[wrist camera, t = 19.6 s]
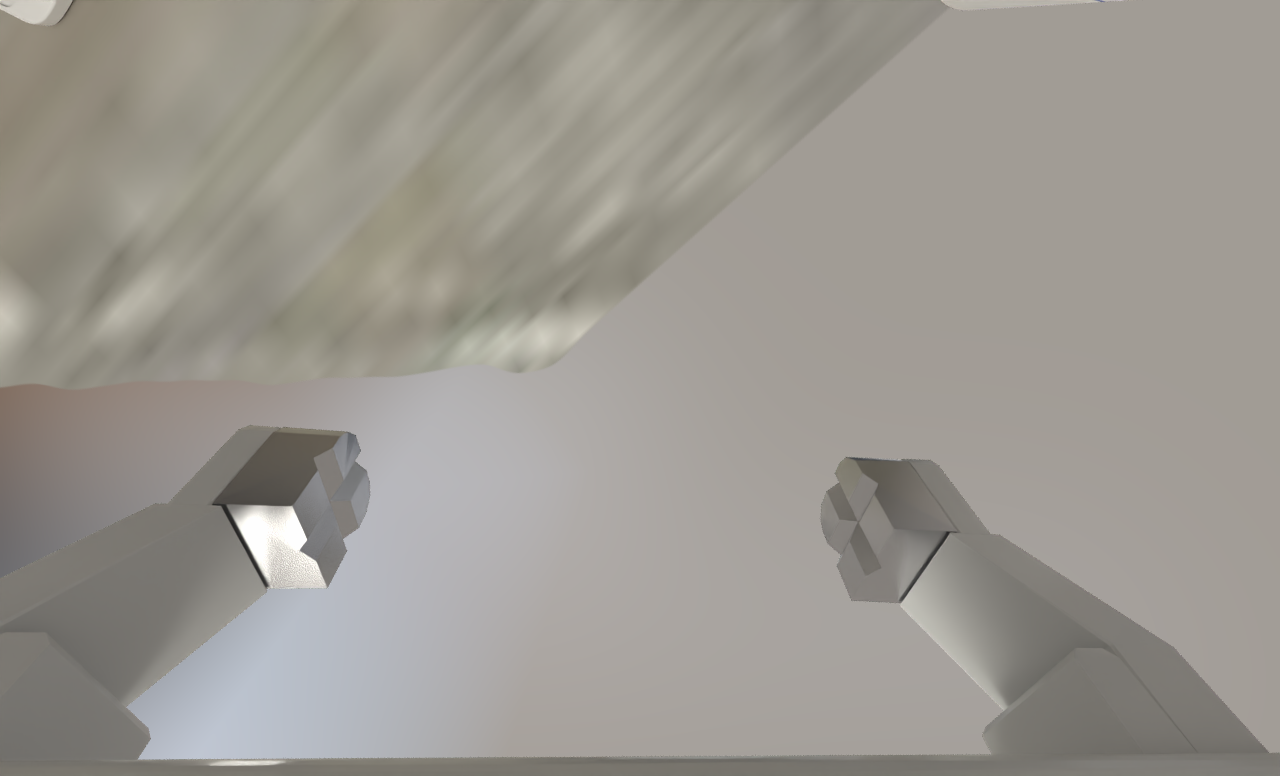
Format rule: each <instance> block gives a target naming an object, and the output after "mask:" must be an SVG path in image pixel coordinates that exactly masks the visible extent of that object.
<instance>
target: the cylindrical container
mask: <svg viewBox="0 0 1280 776" xmlns="http://www.w3.org/2000/svg"><path fill="white" fill-rule="evenodd" d="M941 1H942V2H943V3H944V4H945V5H947V6H949V7H951V8H952V9H957V10H961V11H966V10H983V9H999V8H1015V7H1031V6H1047V5H1063V4H1079V3H1095V2H1111V1H1126V0H941Z"/></svg>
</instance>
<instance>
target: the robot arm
mask: <svg viewBox="0 0 1280 776" xmlns="http://www.w3.org/2000/svg"><path fill="white" fill-rule="evenodd" d="M72 1H73V0H0V9H1V10H3V11H5V12H7V13H9V14H11V15H13V16H15V17H16V18H18V19H20V20H22V21H25V22H27V23H30V24H35V25H43V26H52V25H55V24H56V23H57V22H59V21H60V19H61V18H62V17H63V16H64V14H65V13H66V11H67V10H68V8H69V6H70V5H71V3H72ZM360 452H361V449H360V446H359V444H358V441H357V438H356V435H354V434H352V433H350V432H344V431H329V430H316V429H302V428H288V427H283V428H279V427H265V426H253V425H250V426H247V427H244V428H241V429H239V430H238V431H237V432H236V433H235V434H234V435H233V436H232V437H231V438H230V439H229V440H228V441H227V442H226V443H225V444H224V445H223V446H222V447H221V448H220V449H219V451H218V452H217V453H216V454H215V455H214V456H213V457H212V458H211V459H210V460H209V461H208V462H207V463H206V464H205V465H204V466H203V467H202V468H201V469H200V470H199V471H198V472H197V473H196V475H195V476H194V477H193V478H192V479H191V480H190V481H189V482H188V483H187V484H186V485H185V486H184V487H183V488H182V489H181V490H180V491H179V492H178V493H177V494H176V495H175V497H173V499H172V500H171V501H170V502H169V503H168V504H157V503H155V504H153V505H151V506H149V507H147V508H145V509H143V510H141V511H139V512H137V513H135V514H132V515H131V516H128V517H126V518H124V519H122V520H120V521H118V522H116V523H114V524H112V525H110V526H108V527H106V528H104V529H102V530H99V531H97V532H95V533H93V534H91V535H89V536H87V537H85V538H83V539H81V540H79V541H77V542H75V543H72V544H70V545H68V546H66V547H64V548H62V549H60V550H58V551H56V552H54V553H52V554H50V555H48V556H45V557H43V558H41V559H39V560H37V561H35V562H33V563H31V564H29V565H27V566H25V567H23V568H21V569H19V570H17V571H14V572H12V573H10V574H8V575H6V576H4V577H2V578H0V776H1280V753H1269V752H1268V751H1267V750H1266V748H1265V747H1264V746H1263V745H1262V744H1261V743H1260V742H1259V741H1258V740H1257V739H1256V737H1255V736H1254V735H1253V734H1252V733H1251V732H1250V731H1249V730H1248V729H1247V728H1246V726H1245V725H1244V724H1243V723H1242V722H1241V721H1240V720H1239V719H1238V718H1237V716H1236V715H1235V714H1234V713H1233V712H1232V711H1231V710H1230V709H1229V708H1228V707H1227V705H1226V704H1225V703H1224V702H1223V701H1222V700H1221V699H1220V698H1219V697H1218V696H1217V695H1216V693H1215V692H1214V691H1213V690H1212V689H1211V688H1210V687H1209V686H1208V684H1207V683H1205V681H1204V680H1203V679H1202V678H1201V677H1200V676H1199V675H1198V673H1197V672H1196V671H1195V670H1194V669H1193V668H1192V667H1191V666H1190V665H1189V664H1188V662H1187V661H1186V660H1185V659H1184V658H1183V657H1182V656H1181V655H1180V654H1179V652H1178V651H1177V650H1176V649H1175V648H1174V647H1172V646H1171V645H1169V644H1168V643H1166V642H1165V641H1163V640H1162V639H1160V638H1159V637H1157V636H1155V635H1154V634H1152V633H1151V632H1149V631H1148V630H1146V629H1145V628H1143V627H1141V626H1140V625H1138V624H1137V623H1135V622H1134V621H1132V620H1131V619H1129V618H1128V617H1126V616H1125V615H1123V614H1121V613H1120V612H1118V611H1117V610H1115V609H1114V608H1112V607H1111V606H1109V605H1108V604H1106V603H1104V602H1103V601H1101V600H1100V599H1098V598H1097V597H1095V596H1093V595H1092V594H1090V593H1089V592H1087V591H1086V590H1084V589H1083V588H1081V587H1080V586H1078V585H1077V584H1075V583H1073V582H1072V581H1070V580H1069V579H1067V578H1066V577H1064V576H1063V575H1061V574H1060V573H1058V572H1056V571H1055V570H1053V569H1052V568H1050V567H1049V566H1047V565H1046V564H1044V563H1042V562H1041V561H1040V560H1038V559H1036V558H1035V557H1033V556H1032V555H1030V554H1029V553H1027V552H1026V551H1024V550H1023V549H1021V548H1019V547H1018V546H1016V545H1015V544H1013V543H1012V542H1010V541H1009V540H1007V539H1006V538H1004V537H1002V536H1001V535H996V534H990V533H989V531H988V530H987V529H986V527H985V526H984V525H983V523H982V522H981V521H980V520H979V518H978V517H977V515H976V514H975V513H974V511H973V510H972V509H971V508H970V506H969V505H968V503H967V502H966V501H965V499H964V498H963V497H962V496H961V494H960V493H959V492H958V490H957V489H956V488H955V486H954V485H953V484H952V482H951V481H950V480H949V478H948V477H947V476H946V474H945V473H944V472H943V470H942V469H941V468H940V467H939V465H937V464H936V463H934V462H933V461H931V460H916V459H901V460H898V459H879V458H855V457H846V458H844V460H842V461H841V462H840V463H839V465H838V467H837V470H836V472H835V475H836V477H837V479H838V481H839V483H838V484H836V485H835V486H833V487H832V488H831V489H829V490H828V491H827V492H826V494H825V497H824V499H823V502H822V504H821V525H822V530H823V533H824V535H825V538H826V540H827V543H828V544H829V545H830V546H831V547H832V548H833V549H834V550H836V551H837V552H838V553H839V554H840V555H841V556H840V558H839V561H838V564H837V567H838V570H839V572H840V574H841V577H842V579H843V581H844V584H845V586H846V589H847V591H848V593H849V596H850V598H851V600H852V601H869V602H889V603H901V604H900V606H901V607H902V608H903V609H904V610H905V611H906V612H907V613H908V614H909V615H910V616H911V617H912V618H913V619H914V621H915V622H916V623H918V624H919V626H921V628H922V629H923V630H924V631H925V632H926V633H927V634H928V635H929V636H930V637H931V638H932V639H933V640H934V641H935V642H936V643H937V644H938V645H939V646H940V647H941V648H942V649H943V650H944V651H945V652H946V653H947V654H948V655H949V656H950V657H951V658H952V659H953V660H954V661H955V662H956V663H957V664H958V665H959V666H960V667H961V668H962V669H963V670H964V671H965V672H966V673H967V674H968V675H969V676H970V677H971V678H972V679H973V680H974V681H975V682H976V683H977V684H978V685H979V686H980V687H981V688H982V689H983V690H984V691H985V692H986V693H987V694H988V695H989V696H990V697H991V698H992V699H993V701H995V702H996V704H997V705H998V706H999V707H1000V708H1001V709H1002V710H1003V712H1002V713H1001V714H1000V715H999V716H998V717H996V718H995V719H994V720H993V721H992V722H991V723H990V724H988V725H987V726H986V727H985V730H984V732H983V735H982V737H983V739H984V741H985V742H986V744H987V746H988V748H989V750H990V752H991V755H990V754H989V755H988V754H986V755H985V754H984V755H981V754H980V755H822V756H821V755H816V756H814V755H813V756H661V757H659V756H654V757H653V756H649V757H487V758H486V757H484V758H483V757H478V758H343V759H342V758H331V759H330V758H328V759H326V758H324V759H176V760H174V759H172V760H137V759H138V758H139V756H140V755H141V753H142V752H143V750H144V748H145V747H146V745H147V744H148V742H149V741H150V739H151V738H150V734H149V729H148V727H146V726H145V725H144V724H143V723H142V722H141V721H140V720H139V719H138V718H137V717H136V716H135V715H134V714H133V713H132V712H130V711H129V710H128V709H127V708H126V707H127V706H128V705H129V704H130V703H131V702H133V701H134V700H135V699H136V698H138V697H139V696H140V695H141V694H142V693H144V692H145V691H146V690H147V689H149V688H150V687H151V686H152V685H154V684H155V683H156V682H157V681H158V680H160V679H161V678H162V677H163V676H165V675H166V674H167V673H168V672H169V671H171V670H172V669H173V668H174V667H176V666H177V665H178V664H179V663H181V662H182V661H183V660H184V659H185V658H187V657H188V656H189V655H190V654H191V653H193V652H194V651H195V650H196V649H198V648H199V647H200V646H201V645H203V644H204V643H205V642H206V641H207V640H209V639H210V638H211V637H212V636H214V635H215V634H216V633H217V632H218V631H220V630H221V629H222V628H223V627H225V626H226V625H227V624H228V623H229V622H231V621H232V620H233V619H234V618H236V617H237V616H238V615H239V614H241V613H242V612H243V611H244V610H245V609H247V608H248V607H249V606H250V605H252V604H253V603H254V602H255V601H256V600H258V599H259V598H260V597H261V596H263V595H264V594H265V593H266V592H267V589H271V588H328V586H329V584H330V582H331V581H332V579H333V577H334V575H335V573H336V571H337V569H338V567H339V565H340V563H341V561H342V560H343V558H344V555H345V554H346V552H347V550H346V547H345V544H344V542H343V538H345V537H346V536H348V535H349V534H351V533H352V532H353V531H355V530H356V529H358V528H359V527H360V525H361V522H362V520H363V518H364V516H365V514H366V512H367V507H368V503H369V498H370V481H369V478H368V474H367V471H366V470H365V469H364V468H363V467H361V466H360V465H359V464H358V463H356V462H355V460H356V458H357V457H358V455H359V453H360Z"/></svg>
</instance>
